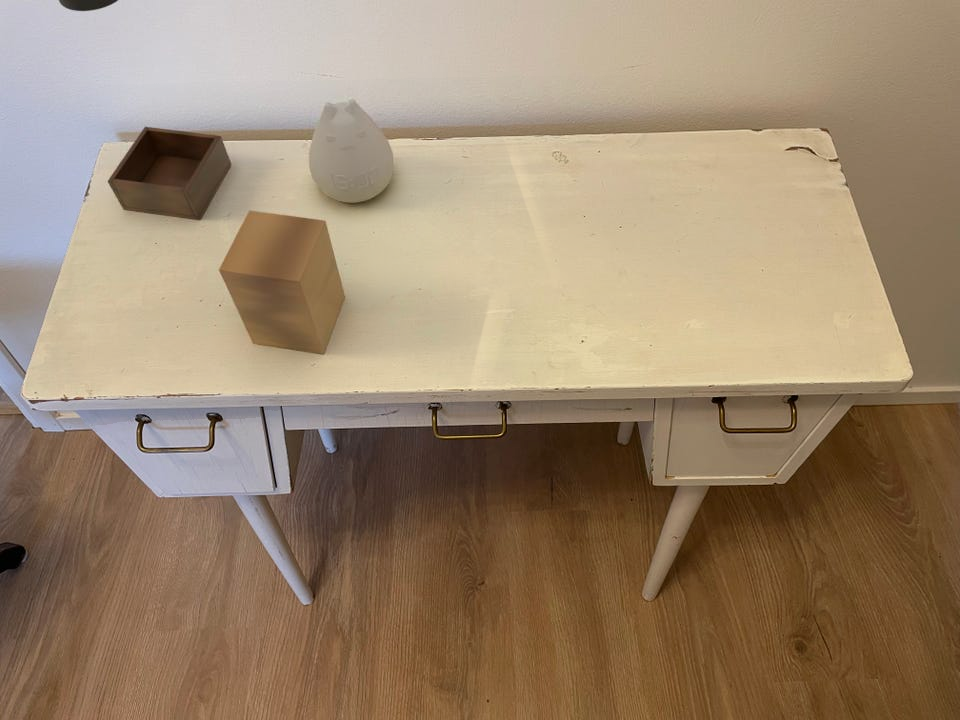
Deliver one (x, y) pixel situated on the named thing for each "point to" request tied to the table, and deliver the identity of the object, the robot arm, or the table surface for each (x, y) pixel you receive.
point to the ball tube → (86, 4)
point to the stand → (284, 281)
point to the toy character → (349, 154)
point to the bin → (170, 173)
